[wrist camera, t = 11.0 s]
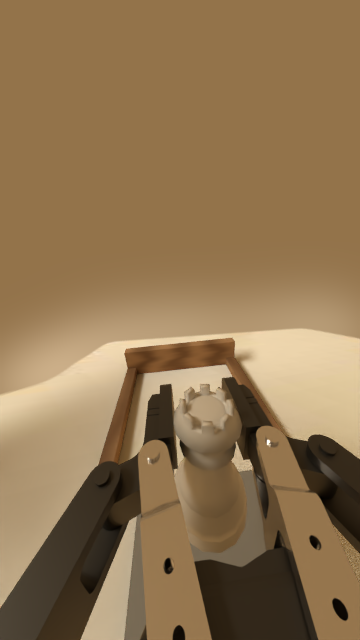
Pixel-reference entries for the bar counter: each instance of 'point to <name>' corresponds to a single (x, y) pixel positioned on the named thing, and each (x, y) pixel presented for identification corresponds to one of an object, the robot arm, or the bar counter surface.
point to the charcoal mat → (198, 557)
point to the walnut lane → (164, 361)
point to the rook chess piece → (210, 469)
